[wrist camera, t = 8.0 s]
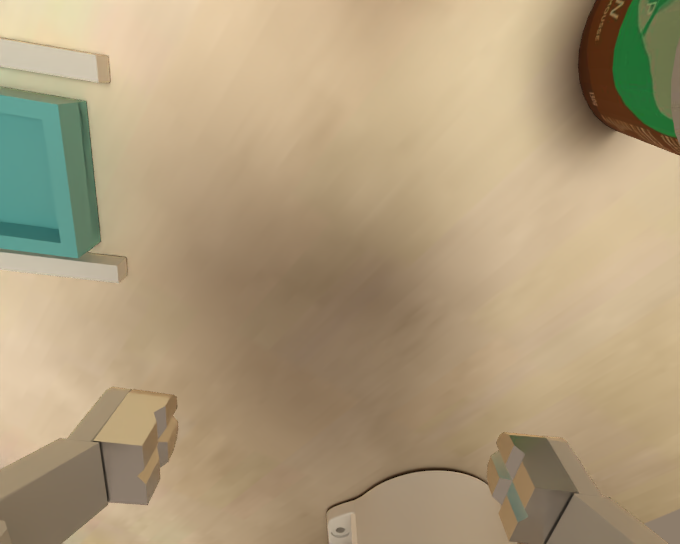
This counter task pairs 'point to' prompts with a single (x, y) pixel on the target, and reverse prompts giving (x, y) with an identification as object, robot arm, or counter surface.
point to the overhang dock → (75, 67)
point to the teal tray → (46, 175)
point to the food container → (634, 68)
